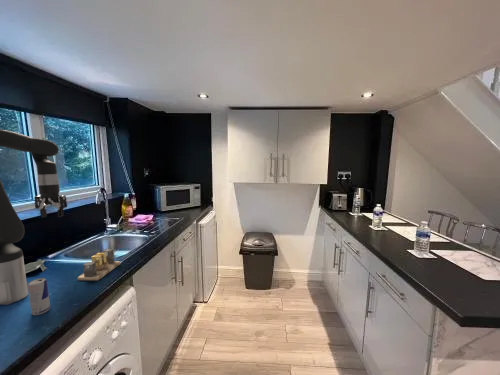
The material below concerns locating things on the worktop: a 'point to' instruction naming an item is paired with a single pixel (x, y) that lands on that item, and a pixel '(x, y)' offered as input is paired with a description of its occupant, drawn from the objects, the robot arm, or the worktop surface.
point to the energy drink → (38, 296)
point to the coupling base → (100, 273)
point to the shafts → (95, 261)
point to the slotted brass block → (99, 258)
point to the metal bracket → (34, 266)
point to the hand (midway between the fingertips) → (52, 216)
